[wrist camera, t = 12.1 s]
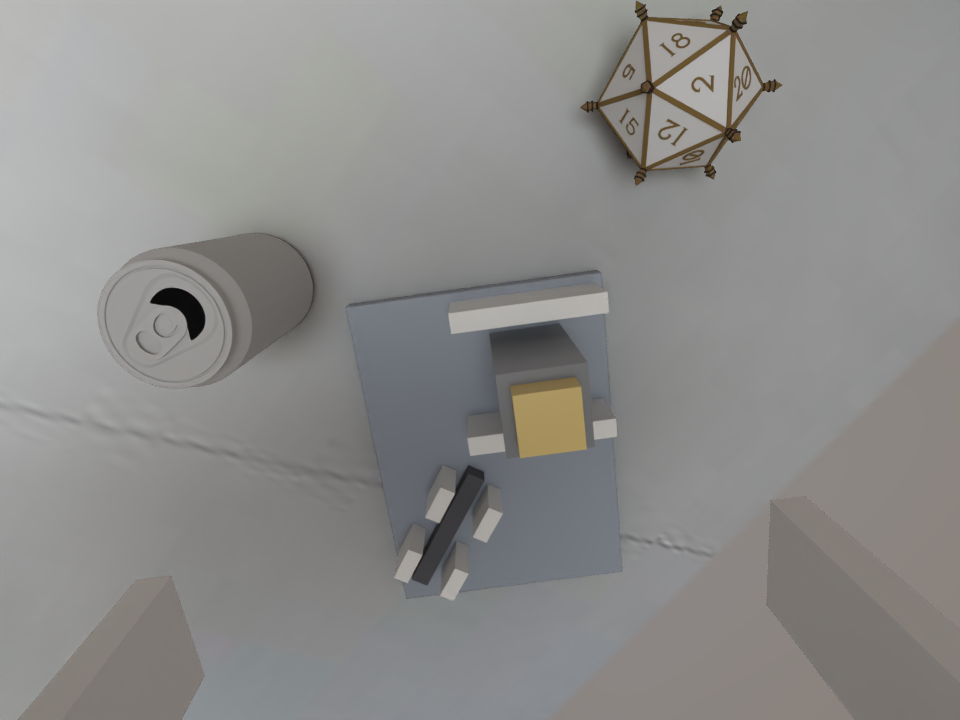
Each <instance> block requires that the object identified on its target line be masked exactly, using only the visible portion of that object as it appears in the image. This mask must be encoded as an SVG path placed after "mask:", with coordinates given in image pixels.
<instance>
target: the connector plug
mask: <svg viewBox="0 0 960 720" xmlns="http://www.w3.org/2000/svg"><path fill="white" fill-rule="evenodd" d="M489 337H490V344H491V352H492V359H493V366H494V374H495V381H496V388H497V395H498V403H499V410H500V417H501V424H502V431H503V438H504V445H505V452H506V459H509V458H516V457H520V458H526V457H533V456H541V455H548V454H556V453H563V452H571V451H578V450H586V449H587V448H591V447H595V442H594V430H593V419H592V407H591V395H590V383H589V371H588V362H587V361H586V359H585V358H584V357H583V355H582V354H581V352H580V351H579V350H578V348H577V347H576V345H575V344H574V343H573V341H572V340H571V339H570V337H569V336H568V334H567V333H566V332H565V330H564V329H563V328H562V326H561V325H560V323H557V324H550V325H543V326H536V327H528V328H521V329H514V330H507V331H500V332H492V333H489Z"/></svg>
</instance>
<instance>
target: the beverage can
mask: <svg viewBox="0 0 960 720" xmlns="http://www.w3.org/2000/svg"><path fill="white" fill-rule="evenodd" d="M312 297H313V283H312V278H311V275H310V272H309V269H308V267H307V265H306V263H305V261H304V260H303V258H302V257H301V256H300V255H299V253H298V252H297V251H296V250H295V249H294V248H292V247H291V246H290V245H289V244H287V243H286V242H284V241H282V240H281V239H278V238H276V237H273V236H270V235H266V234H258V233H251V234H244V235H238V236H232V237H226V238H219V239H213V240H207V241H201V242H195V243H189V244H183V245H177V246H171V247H164V248H158V249H153V250H149V251H146V252H143V253H141V254H139V255H137V256H135V257H134V258H132V259H131V260H129V261H128V262H127V263H126V264H125V265H124V266H123V267H122V268H121V269H120V270H119V271H118V272H116V273H115V274H114V275H113V276H112V277H111V278H110V279H109V281H108V282H107V284H106V285H105V287H104V289H103V291H102V293H101V296H100V299H99V303H98V325H99V329H100V333H101V336H102V338H103V341H104V343H105V345H106V347H107V349H108V350H109V352H110V353H111V355H112V356H113V357H114V359H115V360H116V361H117V362H118V363H119V364H120V365H121V366H122V367H123V368H124V369H125V370H127V371H128V372H129V373H131V374H132V375H133V376H135V377H137V378H139V379H140V380H142V381H144V382H147V383H149V384H152V385H155V386H160V387H165V388H186V387H198V386H205V385H209V384H212V383H215V382H218V381H220V380H222V379H224V378H225V377H227V376H228V375H230V374H231V373H232V372H234V371H235V370H237V369H238V368H239V367H241V366H242V365H243V364H245V363H246V362H247V361H249V360H250V359H252V358H253V357H254V356H256V355H257V354H258V353H260V352H261V351H262V350H264V349H265V348H267V347H268V346H269V345H271V344H272V343H273V342H275V341H276V340H277V339H279V338H280V337H282V336H283V335H284V334H286V333H287V332H288V331H290V330H291V329H292V328H294V327H295V326H296V325H298V324H299V323H300V322H301V321H302V320H303V318H304V317H305V316H306V314H307V312H308V310H309V308H310V305H311V302H312Z"/></svg>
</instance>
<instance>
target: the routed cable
mask: <svg viewBox="0 0 960 720" xmlns="http://www.w3.org/2000/svg"><path fill="white" fill-rule="evenodd" d="M484 481H485V478H484V472H483V471H481V470H479V469H476V468H474V467H472V466H469V465H468V467H467V469H466V471H465V472H464V474H463V476H462V478H461V480H460V482H459V484H458V486H457V487H456V489H455V495H454V497H453V498H452V500H451V502H450V504H449V506H448V508H447V510H446V512H445V513H444V515H443V517H442V519H441V521H440V523H437V525H436V527H435V529H434V531H433V533H432V535H431V536H430V538H429V540H428V542H427V544H426V546H425V548H424V550H423V554H422V557H421V559H420V561H419V563H418V564H417V566H416V568H415V570H414V572H413V575H412V580H414V581H416V582H419V583H421V584H424V585H428V584H429V582H430V580H431V578H432V576H433V574H434V573H435V571H436V569H437V567H438V565H439V563H440V562H441V560H442V558H443V556H444V554H445V552H446V551H447V549H448V547H449V545H450V543H451V541H452V540H453V538H454V536H455V534H456V532H457V530H458V529H459V527H460V525H461V523H462V521H463V519H464V518H465V516H466V514H467V512H468V510H469V508H470V507H471V505H472V503H473V501H474V499H475V497H476V496H477V494H478V492H479V490H480V488H481V486H482V484H483V483H484Z"/></svg>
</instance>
